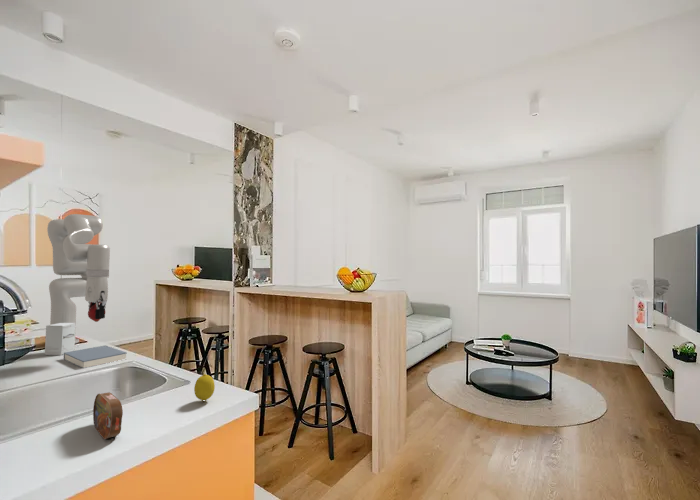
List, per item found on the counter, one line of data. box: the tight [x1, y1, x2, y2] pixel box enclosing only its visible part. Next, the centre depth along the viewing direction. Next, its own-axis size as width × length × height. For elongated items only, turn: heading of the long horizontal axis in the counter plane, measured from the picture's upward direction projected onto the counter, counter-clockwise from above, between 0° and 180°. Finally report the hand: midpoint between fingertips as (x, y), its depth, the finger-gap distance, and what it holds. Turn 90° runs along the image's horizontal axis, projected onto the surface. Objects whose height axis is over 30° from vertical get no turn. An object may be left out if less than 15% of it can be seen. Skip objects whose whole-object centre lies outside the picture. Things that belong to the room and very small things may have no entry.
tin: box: [92, 391, 124, 440], centre depth 84 cm, size 15×3×8 cm, turn 48°
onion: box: [87, 304, 101, 323], centre depth 143 cm, size 6×6×8 cm
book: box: [63, 345, 127, 369], centre depth 143 cm, size 20×15×3 cm
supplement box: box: [44, 322, 77, 356], centre depth 151 cm, size 7×7×13 cm
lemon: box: [194, 373, 216, 401], centre depth 102 cm, size 6×6×8 cm
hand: (96, 317), depth 143 cm, fingers closed on onion, 5 cm apart
